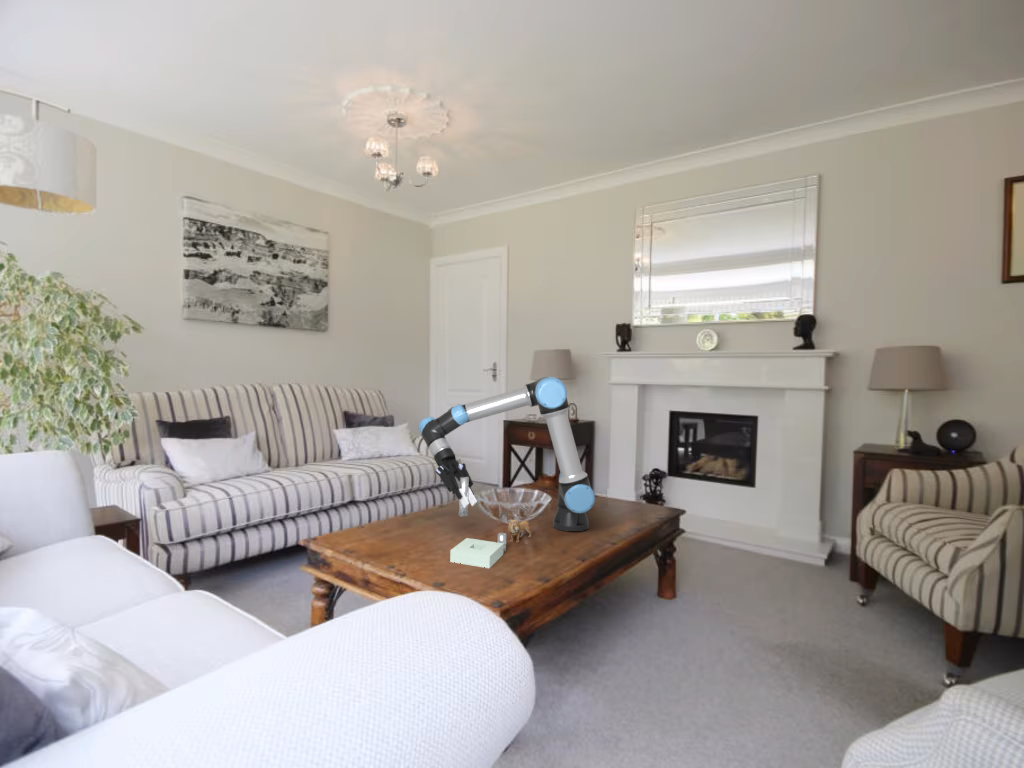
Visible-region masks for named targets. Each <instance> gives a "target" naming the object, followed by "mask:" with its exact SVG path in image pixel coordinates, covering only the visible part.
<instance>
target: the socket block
mask: <svg viewBox="0 0 1024 768" xmlns="http://www.w3.org/2000/svg"><path fill="white" fill-rule="evenodd" d="M503 548H504V543H497V542H496V541H489V540H482V539H475V538H468V537H466V538H465V539H463V540H462V541H461V542H459V543H458V544H457V545H455V546H454V547H453V548H451V549H450V552H449V553H450V555H449V559H450V561H449V562H450V563H454V562H455V563H456V564H460V563H461V565H465V566H466V565H467V566H473V567H478V568H484V567H485V568H484V569H490V568H491V567H493V565H494V564H496V563H497V562H498V561H499V559H500V558H502V557H503V556H504V552H503ZM455 563H454V564H455Z"/></svg>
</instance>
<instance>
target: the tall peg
mask: <svg viewBox="0 0 1024 768" xmlns="http://www.w3.org/2000/svg"><path fill="white" fill-rule="evenodd" d="M468 485H469V477H460V482H459V489H462V491H463V493H464V494H465V496H466V498H467V500H468ZM468 501H469V500H468ZM468 509H469V505H468V506H467V507H466V508H464V507H463V505H462V503H461V501H460V499H458V517H465V518H466V517H468V513H469V511H468Z"/></svg>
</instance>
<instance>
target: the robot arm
mask: <svg viewBox="0 0 1024 768" xmlns="http://www.w3.org/2000/svg"><path fill="white" fill-rule="evenodd" d="M567 395H568V391H567V387H566V385H565V384H564V383H563V382H562V380H560V379H559V378H557V377H553V376H545V377H542V378H539V379H537V380H535V381H533V382H530V383H527V384H526V383H525V384H524V386H523V387H522V388H519V389H518V388H517V389H514V390H511V391H507V392H504V393H500V394H496V395H492V396H490V397H486V398H483V399H478V400H474V401H471V402H467V403H465V404H457V405H455V406H452V407H450V408H449V409H448V410H447V411H446V412H444V413H443V414H441V415H440V416H439V417H437V418H435V417H433V416H427V418H423V419H422V420H420V421H419V423H418V430H419V433H420V435H421V437H422V438H423V440H424V443H425V444H426V446H427V447H428V450H429V451H430V454H431V455H432V457H433V459H434V461H435V464H436V465H437V466H438V467H437V468H436V470H435V473H436V474H437V476H438V477H439V478H440V480H441V481H442V482H443V484H444V487H445V488H446V489H447V491H448V492H449V493H452V495H455V496H456V498H457V499H458V500H459V499H460V501H461V503H462V505H463V507H464V508H466V507H467V506H468V507H469V504H470V505H471V507H475V505H476V504H477V503H478V501H477V498H476V497H475V494H474V492H473V489H472V486H473V485H474V482H473V480H472V477H471V476H470V473H469V471H468V469H467V467H466V463H464V462H463V463H462V464H461V463H460V462H458V460H457V459H456V458H457V457H456V454H455V452H454V451H453V449H452V447H451V445H450V444H449V442H448V440H447V438H446V436H447V435H449V434H450V433H452V432H453V431H455V430H457V429H458V428H459V427H461V426H463V425H464V424H466V423H467V424H468V423H470V422H472V421H477V420H481V419H483V418H487V417H490V416H491V417H492V416H495V415H498V414H502V413H505V412H509V411H512V410H513V411H514V410H516V409H520V408H523V407H530V408H532V407H536V406H538V410H539V413H540V416H542V417H543V418H545V421H546V425H547V428H548V431H549V432H548V433H549V435H550V440H551V442H552V447H553V450H554V454H555V457H556V461H557V465H558V470H559V471H560V473H559V476H558V494H557V495H558V496H557V501H558V502H557V509H556V512H555V513H554V517H553V519H552V527H553V528H554V529H556V530H559V531H562V530H563V531H562V532H568V531H582V532H584V531H583V530H586V529H588V528H590V521H589V519H588V515H587V512H588V511H590V510H591V509H592V508H593V506H594V505H595V501H596V497H595V496H596V495H595V491H594V490H593V489H592V487H591V486H592V485H591V483H590V479H589V475H588V473H587V472H585V471H583V468H582V465H581V461H580V457H579V453H578V450H577V445H576V442H575V439H574V434H573V430H572V427H571V424H570V421H569V420H570V419H569V416H568V411H569V409H570V405H569V401H568V397H567ZM460 477H469V485H468V500H467V498H466V496H465V494H464V493H463V491H462V489H460V486H459V484H458V483H460ZM457 481H458V482H457ZM588 530H589V529H588ZM586 531H587V530H586Z"/></svg>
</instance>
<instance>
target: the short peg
mask: <svg viewBox="0 0 1024 768" xmlns="http://www.w3.org/2000/svg"><path fill="white" fill-rule="evenodd" d="M507 537H508V536H507V533H506V532H497V543H504V548H503V553H505V552H506V551H507V539H508V538H507ZM504 551H505V552H504Z"/></svg>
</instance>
